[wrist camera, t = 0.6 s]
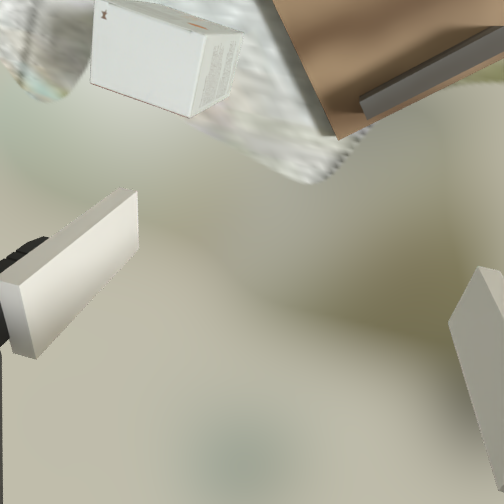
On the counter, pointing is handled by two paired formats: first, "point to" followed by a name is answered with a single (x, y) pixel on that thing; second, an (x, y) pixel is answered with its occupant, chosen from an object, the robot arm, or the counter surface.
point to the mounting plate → (389, 51)
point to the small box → (162, 55)
